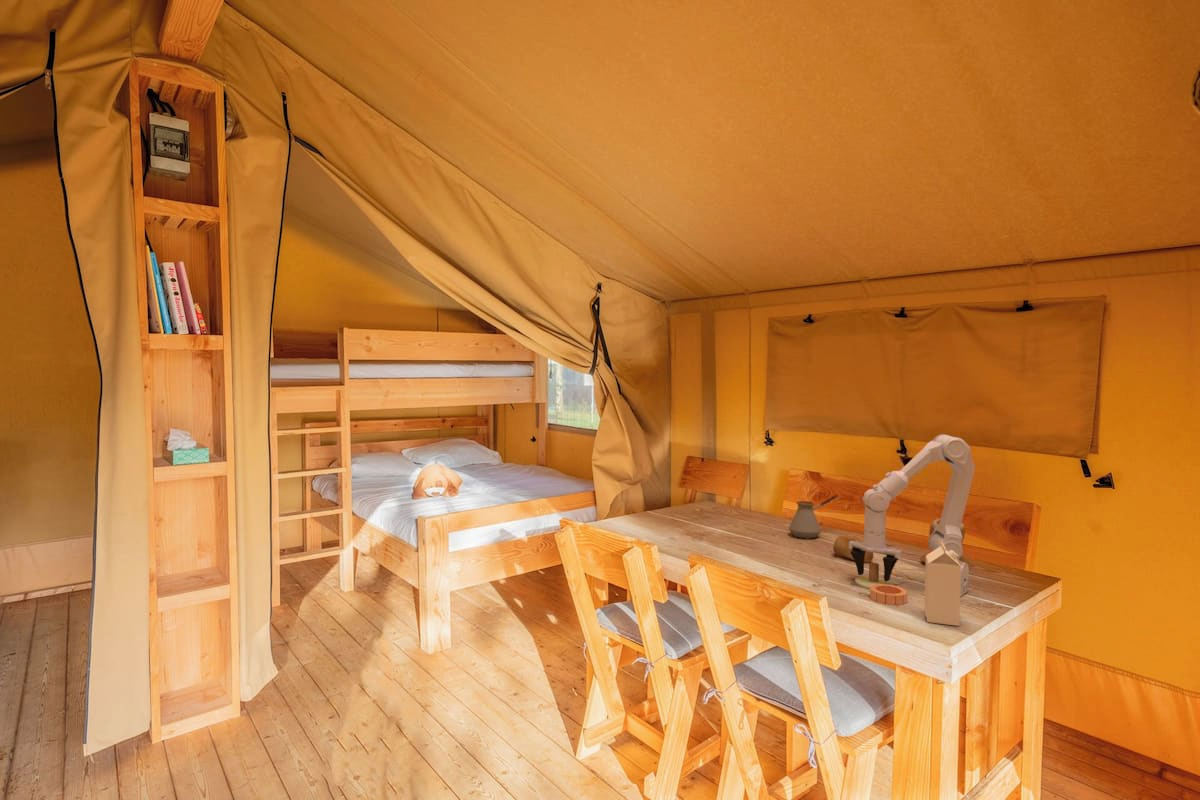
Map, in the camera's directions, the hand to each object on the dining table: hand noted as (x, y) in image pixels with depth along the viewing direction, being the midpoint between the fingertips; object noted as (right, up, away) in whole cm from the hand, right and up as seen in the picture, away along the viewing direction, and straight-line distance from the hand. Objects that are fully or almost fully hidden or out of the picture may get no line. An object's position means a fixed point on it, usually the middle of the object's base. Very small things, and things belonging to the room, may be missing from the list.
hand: (873, 577), depth 191 cm
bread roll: (+4, -2, +28) cm, 28 cm away
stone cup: (+32, -2, +21) cm, 39 cm away
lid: (0, -2, 0) cm, 2 cm away
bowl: (-1, -3, -12) cm, 12 cm away
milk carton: (+6, -4, -25) cm, 27 cm away
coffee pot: (+2, 0, +59) cm, 59 cm away
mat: (0, -3, 0) cm, 2 cm away
